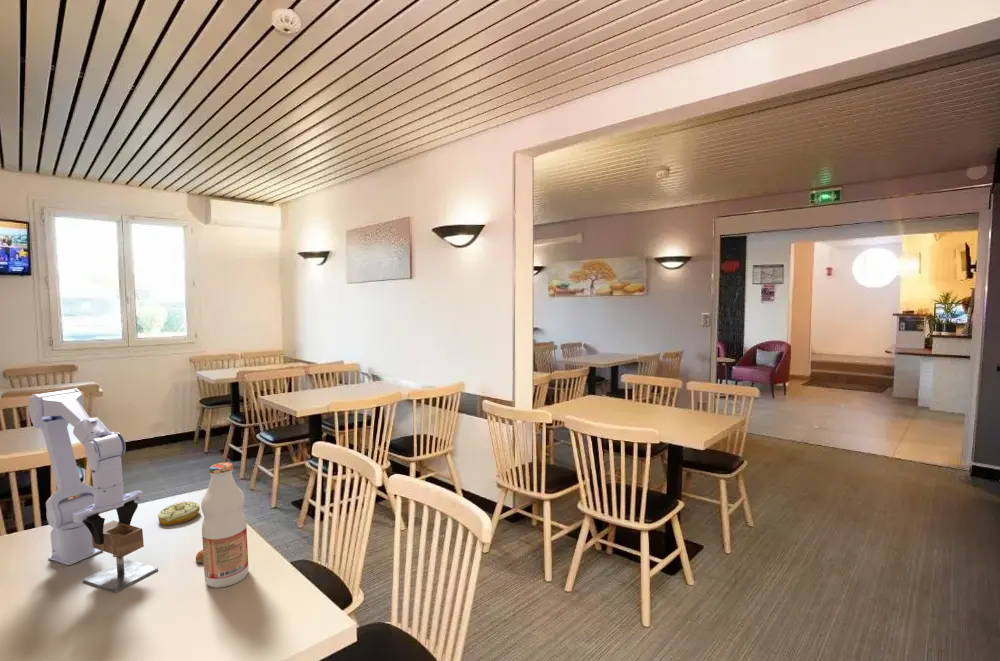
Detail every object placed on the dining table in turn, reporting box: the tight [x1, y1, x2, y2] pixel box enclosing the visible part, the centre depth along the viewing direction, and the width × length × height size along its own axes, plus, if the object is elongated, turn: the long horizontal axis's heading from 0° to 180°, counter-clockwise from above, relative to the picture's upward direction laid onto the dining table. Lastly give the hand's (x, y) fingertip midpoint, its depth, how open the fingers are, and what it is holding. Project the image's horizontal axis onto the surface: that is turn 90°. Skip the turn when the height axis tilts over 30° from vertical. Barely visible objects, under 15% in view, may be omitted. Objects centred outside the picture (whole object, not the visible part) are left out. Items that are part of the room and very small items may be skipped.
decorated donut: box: [157, 501, 201, 526], centre depth 154 cm, size 10×11×4 cm
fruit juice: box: [200, 461, 249, 589], centre depth 121 cm, size 9×9×28 cm
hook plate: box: [82, 554, 159, 593], centre depth 122 cm, size 12×10×6 cm
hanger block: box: [92, 520, 145, 558], centre depth 122 cm, size 11×5×5 cm, turn 68°
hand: (112, 538), depth 123 cm, fingers closed on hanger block, 5 cm apart
